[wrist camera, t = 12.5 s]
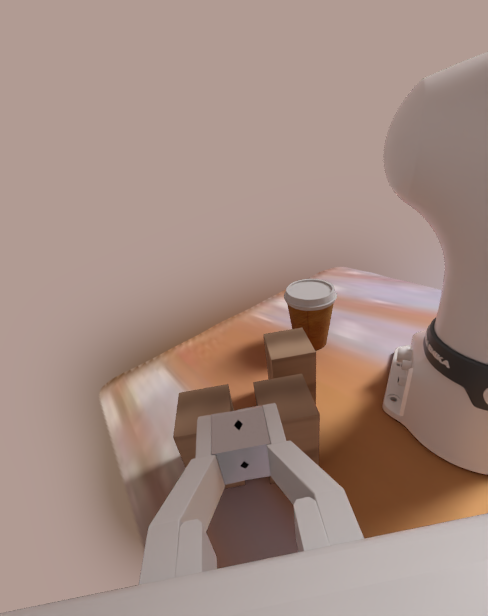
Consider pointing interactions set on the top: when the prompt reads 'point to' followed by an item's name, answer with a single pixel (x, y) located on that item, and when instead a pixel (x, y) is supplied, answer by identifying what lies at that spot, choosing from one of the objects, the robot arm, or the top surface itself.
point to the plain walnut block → (187, 416)
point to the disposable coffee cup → (311, 308)
